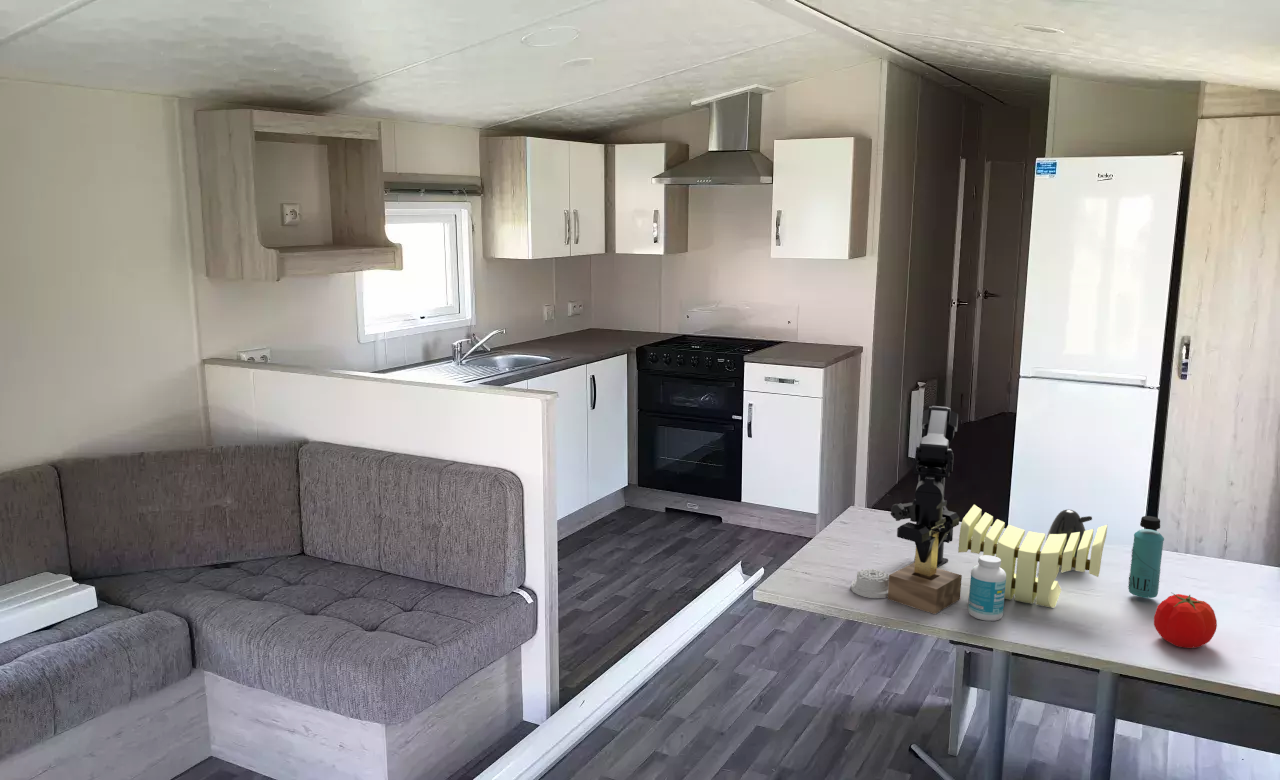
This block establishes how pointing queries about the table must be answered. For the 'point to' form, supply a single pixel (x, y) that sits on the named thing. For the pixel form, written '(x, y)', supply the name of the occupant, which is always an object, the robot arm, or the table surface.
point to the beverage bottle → (1146, 559)
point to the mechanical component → (871, 584)
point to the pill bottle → (987, 589)
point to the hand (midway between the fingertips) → (926, 560)
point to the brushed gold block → (928, 559)
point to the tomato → (1185, 621)
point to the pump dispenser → (1068, 526)
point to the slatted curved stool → (1031, 555)
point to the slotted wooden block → (924, 589)
